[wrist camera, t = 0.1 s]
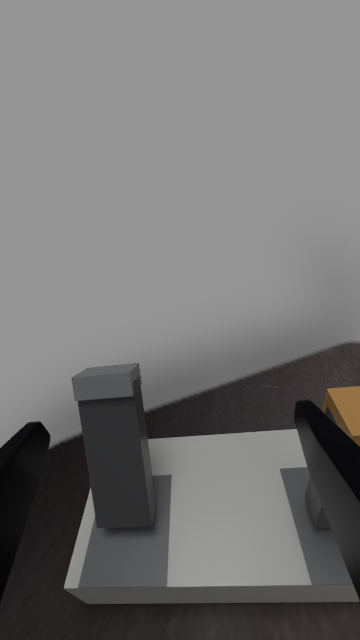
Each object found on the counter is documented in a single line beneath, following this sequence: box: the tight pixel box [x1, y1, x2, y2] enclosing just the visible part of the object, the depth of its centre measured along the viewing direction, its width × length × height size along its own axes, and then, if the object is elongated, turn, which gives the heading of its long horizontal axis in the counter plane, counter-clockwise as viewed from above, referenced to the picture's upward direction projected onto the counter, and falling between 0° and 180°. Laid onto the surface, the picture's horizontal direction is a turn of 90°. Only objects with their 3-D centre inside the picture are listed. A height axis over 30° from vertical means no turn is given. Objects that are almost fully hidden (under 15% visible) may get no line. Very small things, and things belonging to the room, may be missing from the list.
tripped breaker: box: [305, 386, 360, 528], centre depth 13 cm, size 2×4×10 cm, turn 89°
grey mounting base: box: [64, 429, 360, 604], centre depth 20 cm, size 9×20×4 cm, turn 89°
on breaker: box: [72, 363, 157, 528], centre depth 17 cm, size 2×4×10 cm, turn 90°
